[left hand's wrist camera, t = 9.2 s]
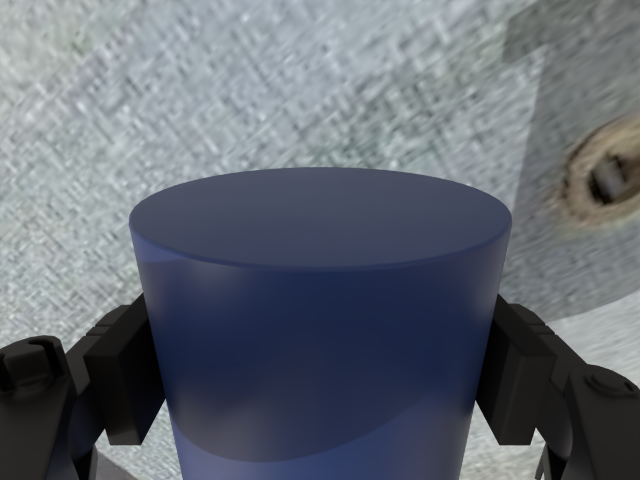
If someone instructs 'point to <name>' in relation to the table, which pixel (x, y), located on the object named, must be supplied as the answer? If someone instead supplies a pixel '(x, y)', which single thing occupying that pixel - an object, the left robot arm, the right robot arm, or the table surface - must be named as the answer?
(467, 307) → the rod
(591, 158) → the table surface
